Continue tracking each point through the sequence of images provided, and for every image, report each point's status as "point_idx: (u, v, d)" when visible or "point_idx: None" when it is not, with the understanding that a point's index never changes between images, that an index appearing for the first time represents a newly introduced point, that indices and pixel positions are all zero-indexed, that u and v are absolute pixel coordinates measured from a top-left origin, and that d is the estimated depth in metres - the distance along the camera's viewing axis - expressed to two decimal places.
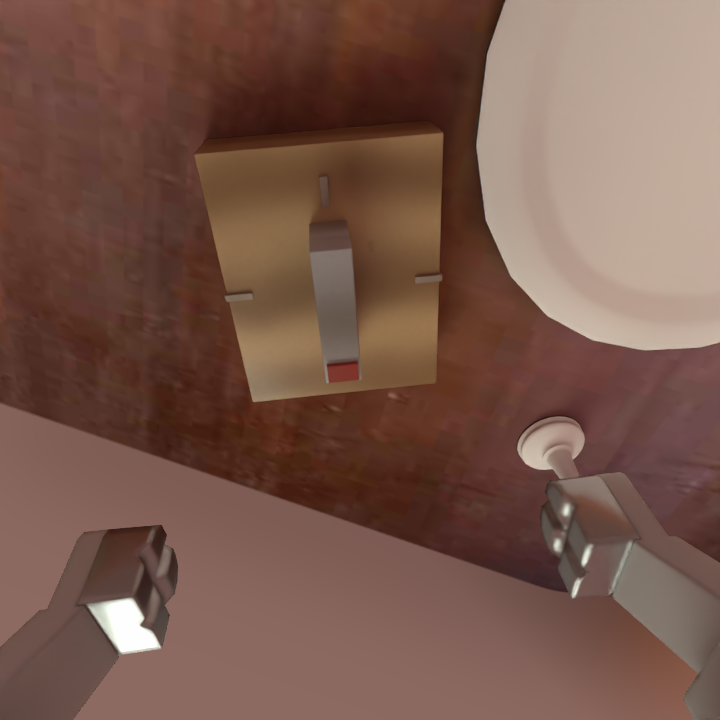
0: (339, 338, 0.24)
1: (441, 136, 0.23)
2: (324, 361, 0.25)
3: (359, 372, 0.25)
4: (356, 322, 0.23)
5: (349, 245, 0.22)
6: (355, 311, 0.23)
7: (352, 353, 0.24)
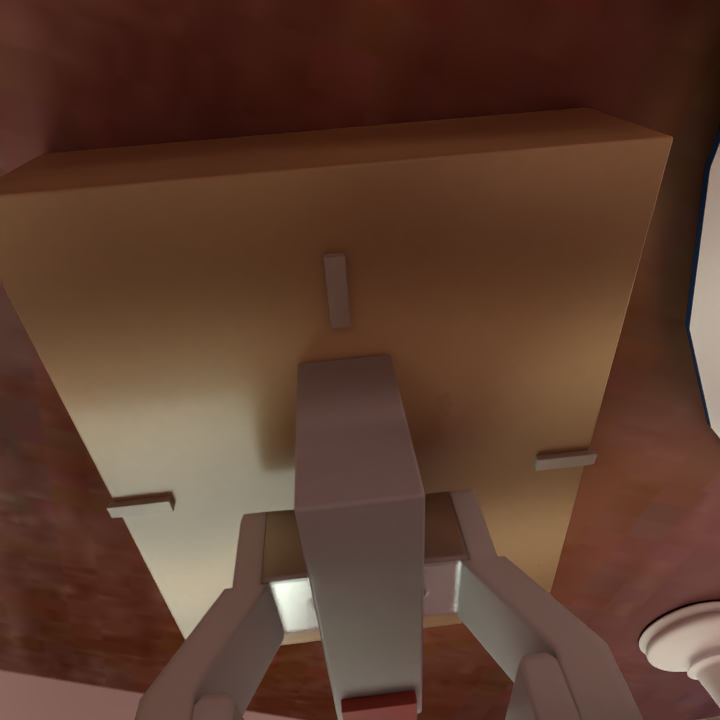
0: (373, 660, 0.09)
1: (666, 147, 0.08)
2: (335, 695, 0.10)
3: (418, 706, 0.10)
4: (420, 633, 0.09)
5: (416, 479, 0.07)
6: (420, 616, 0.09)
7: (405, 680, 0.10)
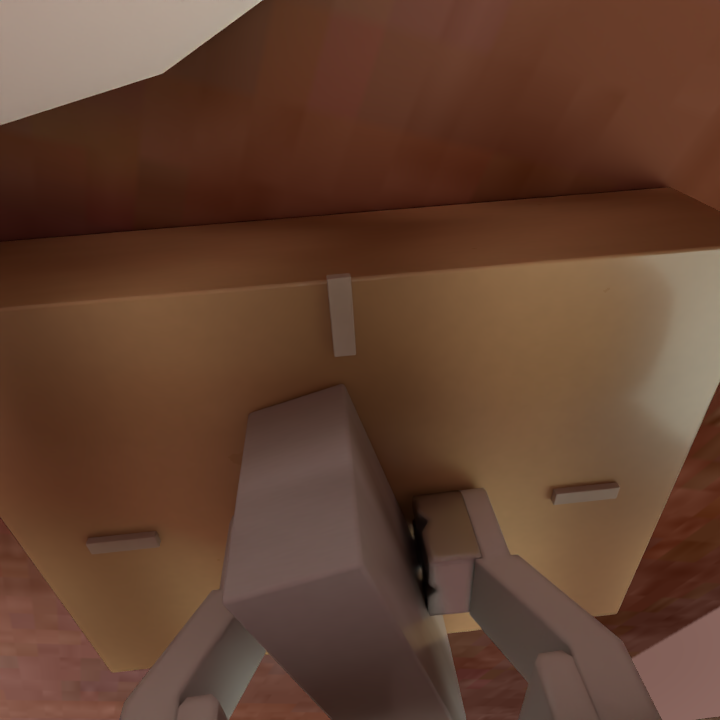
0: None
1: None
2: None
3: None
4: (432, 690, 0.08)
5: (353, 543, 0.06)
6: (422, 676, 0.08)
7: None
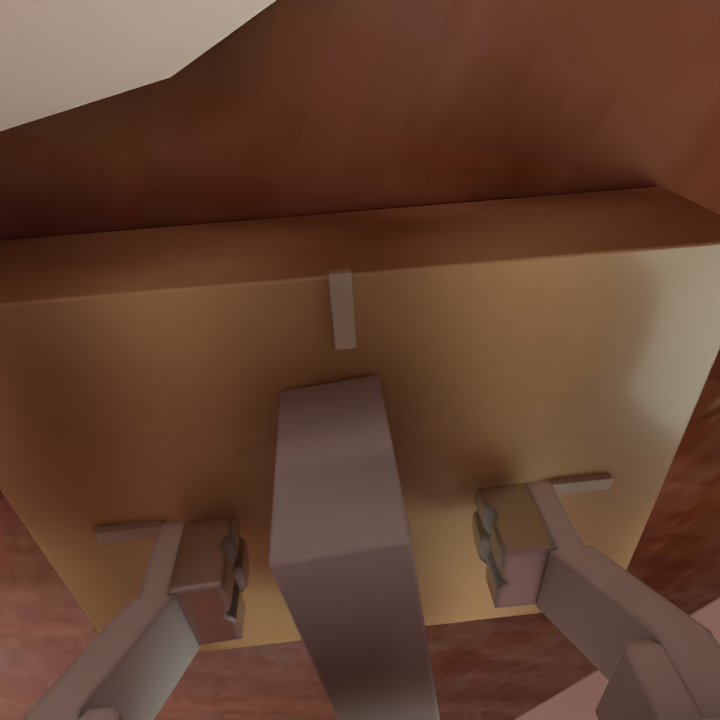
0: (383, 704, 0.09)
1: None
2: None
3: None
4: (429, 675, 0.08)
5: (401, 521, 0.06)
6: (426, 659, 0.08)
7: None
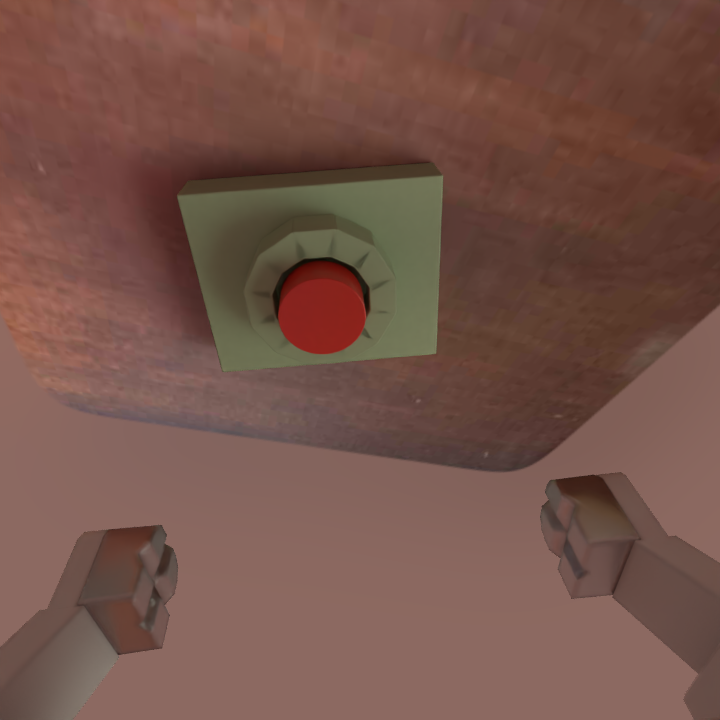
0: None
1: None
2: None
3: None
4: None
5: None
6: None
7: None
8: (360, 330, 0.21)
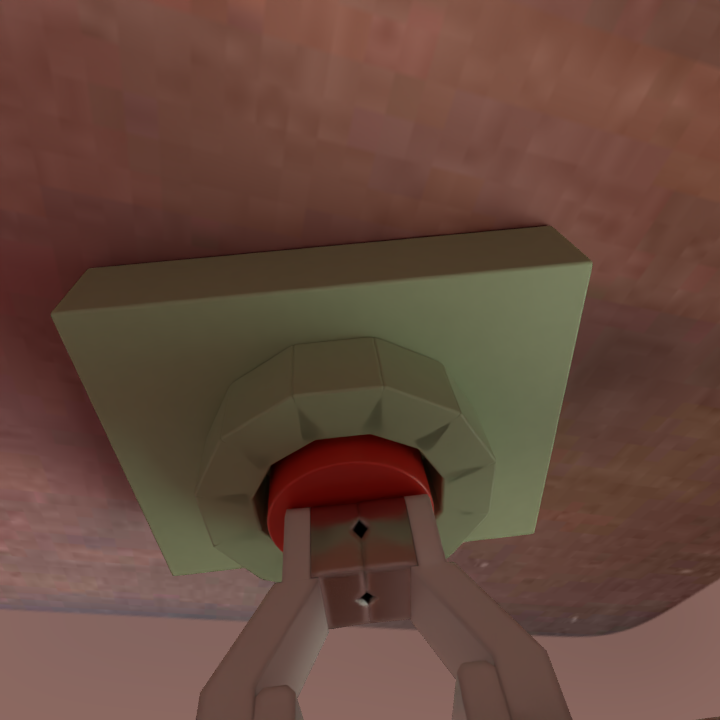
0: None
1: None
2: None
3: None
4: None
5: None
6: None
7: None
8: None
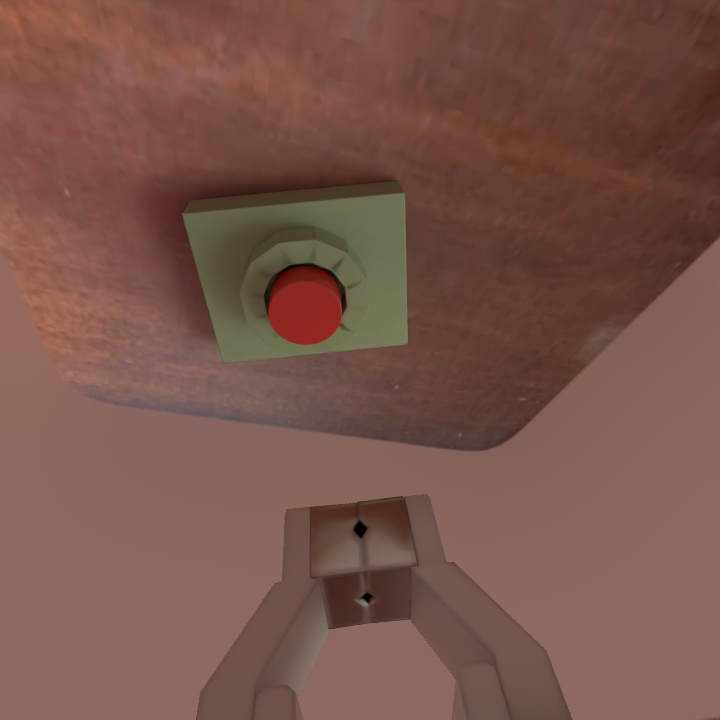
0: None
1: None
2: None
3: None
4: None
5: None
6: None
7: None
8: (338, 324, 0.25)
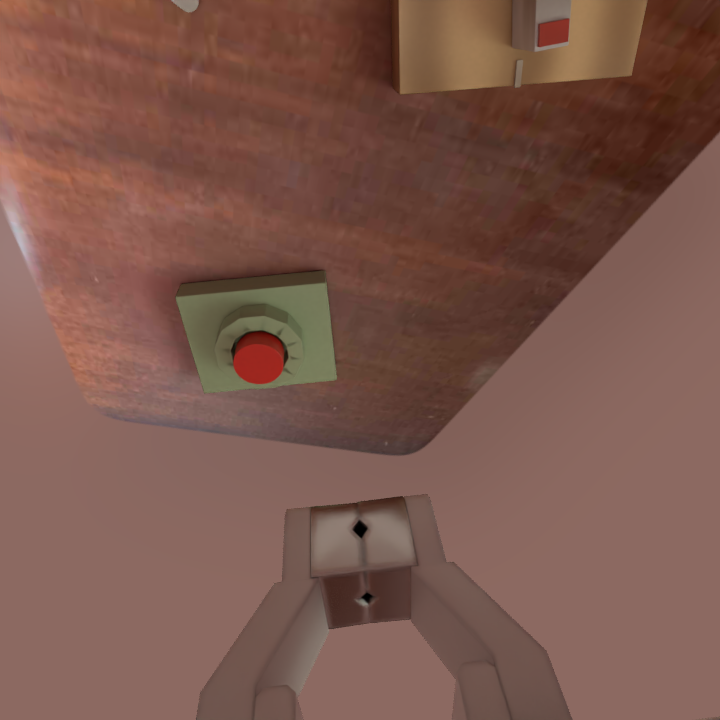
0: None
1: None
2: (536, 20, 0.25)
3: None
4: None
5: None
6: None
7: (564, 7, 0.25)
8: (281, 370, 0.37)
